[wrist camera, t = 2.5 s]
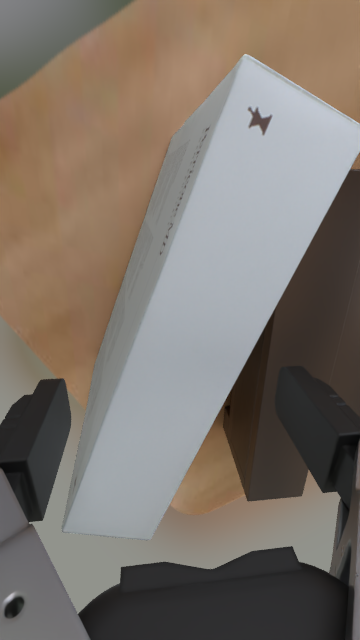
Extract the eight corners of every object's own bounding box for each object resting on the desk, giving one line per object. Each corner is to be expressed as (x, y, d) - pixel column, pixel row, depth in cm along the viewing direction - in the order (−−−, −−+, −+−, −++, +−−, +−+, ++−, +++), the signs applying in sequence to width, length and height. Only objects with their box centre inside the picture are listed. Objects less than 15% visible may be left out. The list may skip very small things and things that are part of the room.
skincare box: (147, 378, 31) (149, 547, 16) (94, 364, 30) (46, 534, 15) (237, 163, 24) (383, 126, 9) (173, 131, 22) (226, 32, 8)
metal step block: (405, 176, 26) (528, 172, 17) (338, 418, 36) (395, 487, 28) (244, 174, 24) (295, 168, 16) (223, 427, 35) (247, 501, 26)
